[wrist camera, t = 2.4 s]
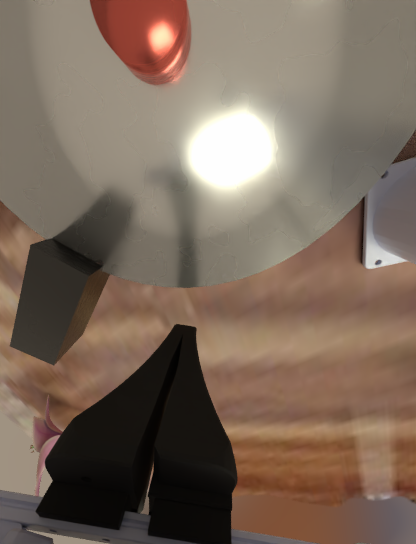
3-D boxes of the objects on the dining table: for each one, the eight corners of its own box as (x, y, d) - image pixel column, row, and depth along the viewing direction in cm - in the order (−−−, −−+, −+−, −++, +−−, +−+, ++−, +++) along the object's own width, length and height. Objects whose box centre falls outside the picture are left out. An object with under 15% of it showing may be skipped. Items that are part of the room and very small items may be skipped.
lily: (75, 371, 29) (-18, 433, 21) (118, 439, 27) (35, 530, 20) (68, 383, 36) (-1, 431, 29) (102, 436, 35) (38, 501, 28)
